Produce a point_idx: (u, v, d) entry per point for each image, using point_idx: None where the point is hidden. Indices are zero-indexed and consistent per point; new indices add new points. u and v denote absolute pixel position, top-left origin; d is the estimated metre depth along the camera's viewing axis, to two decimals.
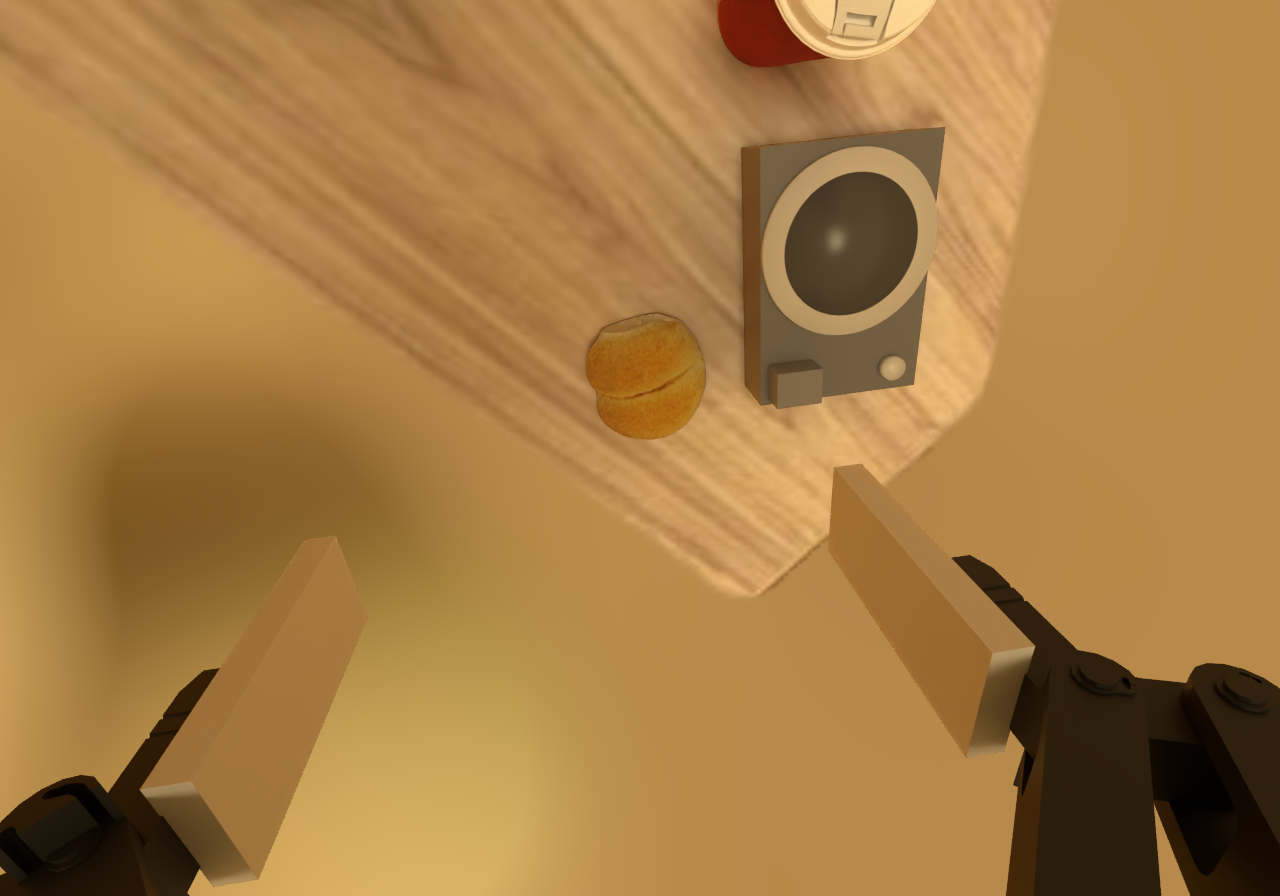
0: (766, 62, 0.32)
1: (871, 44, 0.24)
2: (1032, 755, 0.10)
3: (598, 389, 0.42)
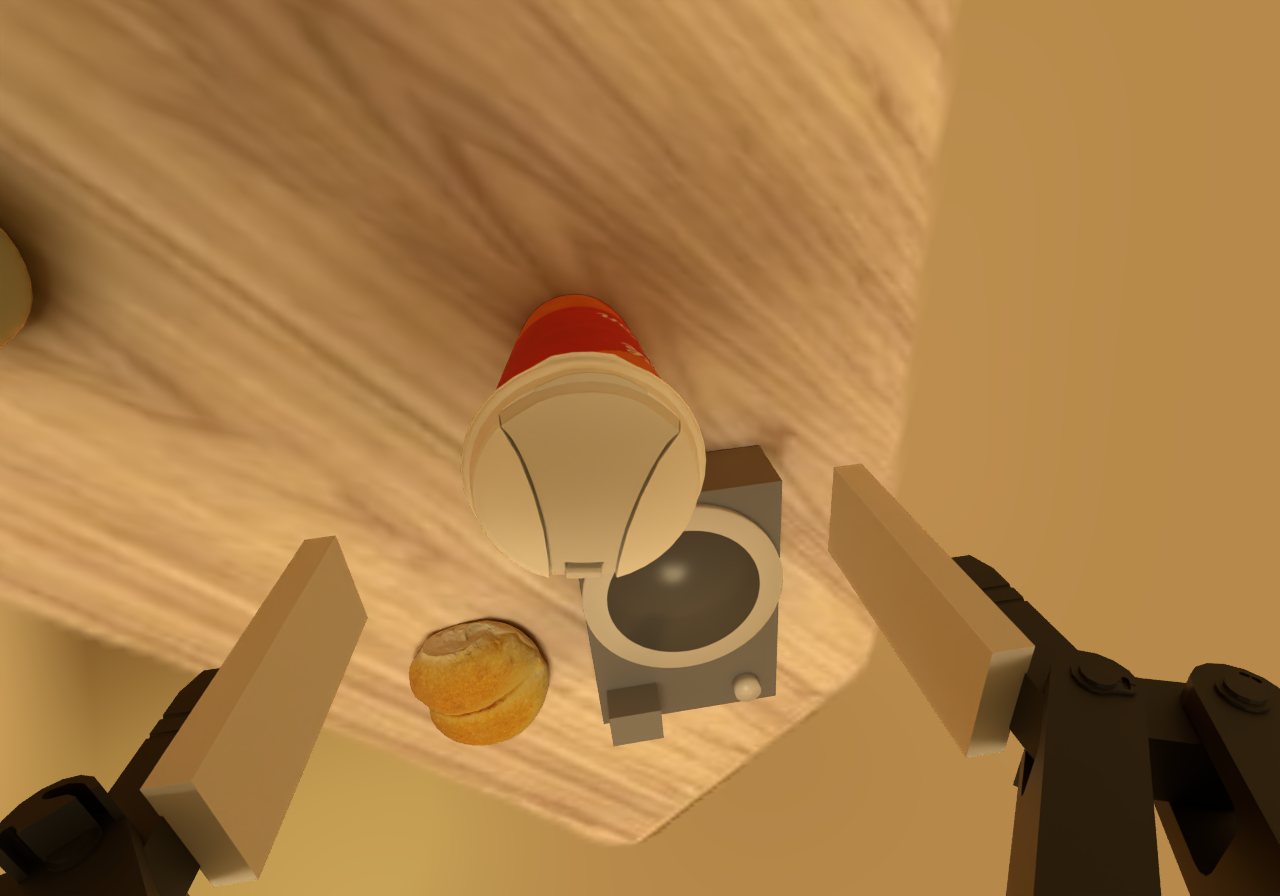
0: None
1: None
2: (1033, 755, 0.10)
3: None
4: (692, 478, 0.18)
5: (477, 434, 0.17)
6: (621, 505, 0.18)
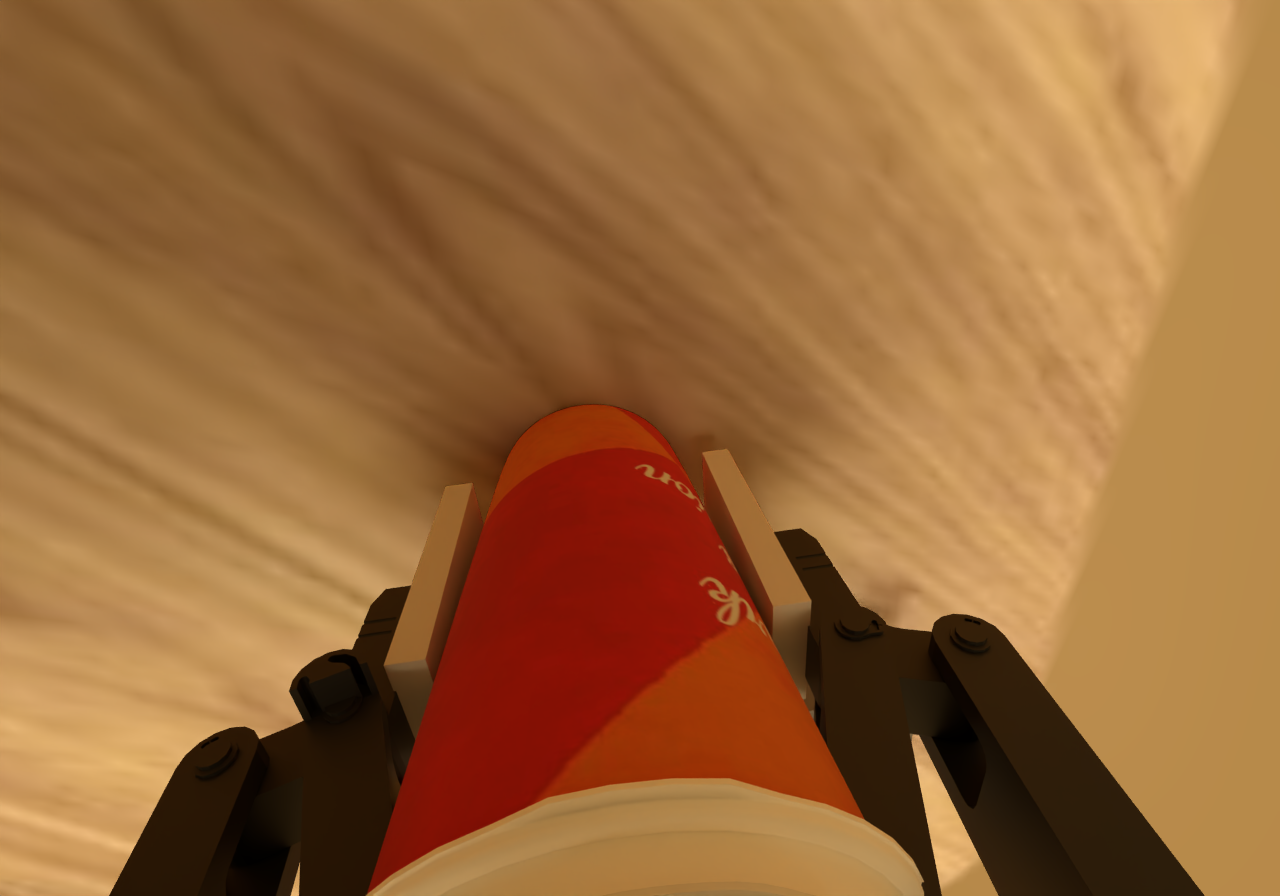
0: None
1: None
2: (821, 707, 0.12)
3: None
4: None
5: None
6: None
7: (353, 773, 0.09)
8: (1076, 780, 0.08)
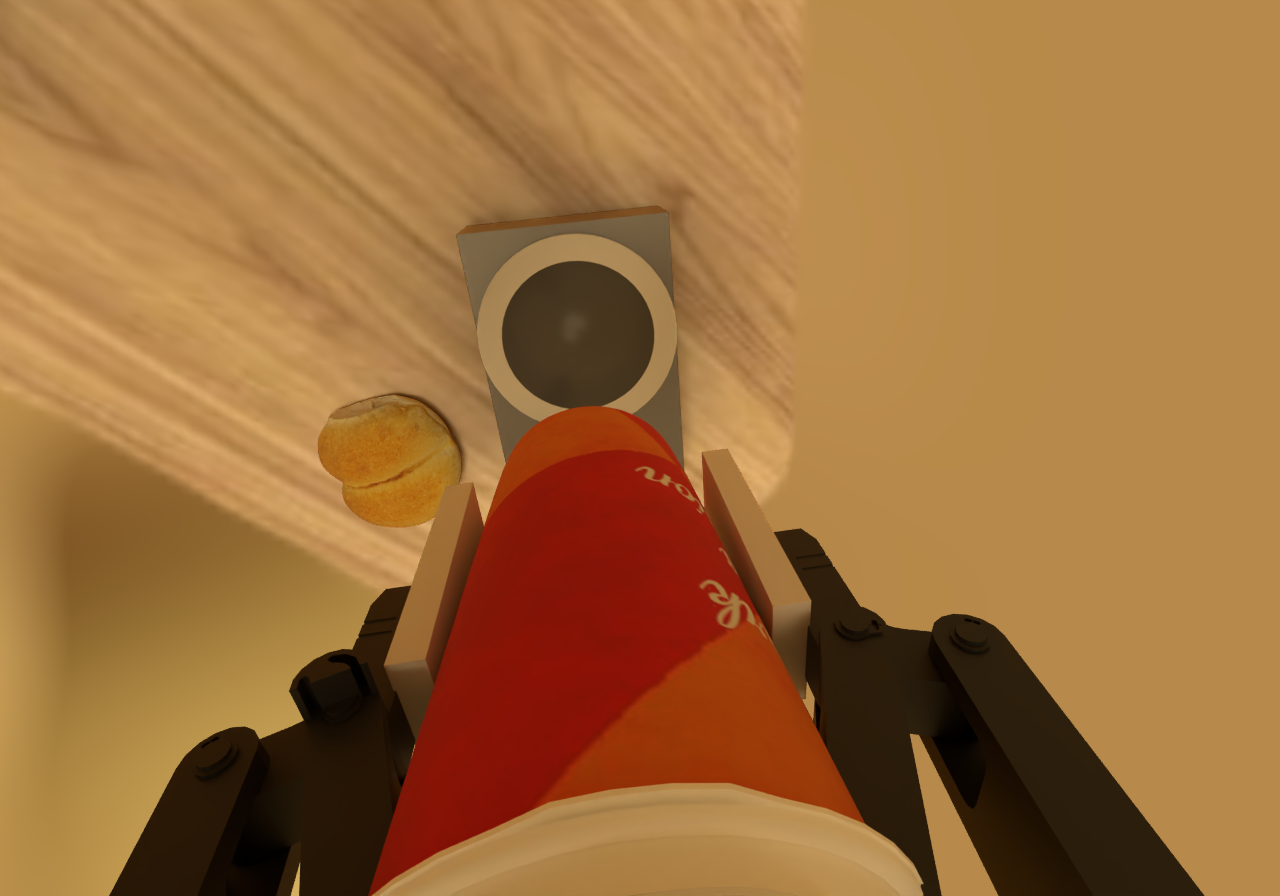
0: None
1: None
2: (821, 707, 0.12)
3: None
4: None
5: None
6: None
7: (354, 773, 0.09)
8: (1075, 781, 0.08)
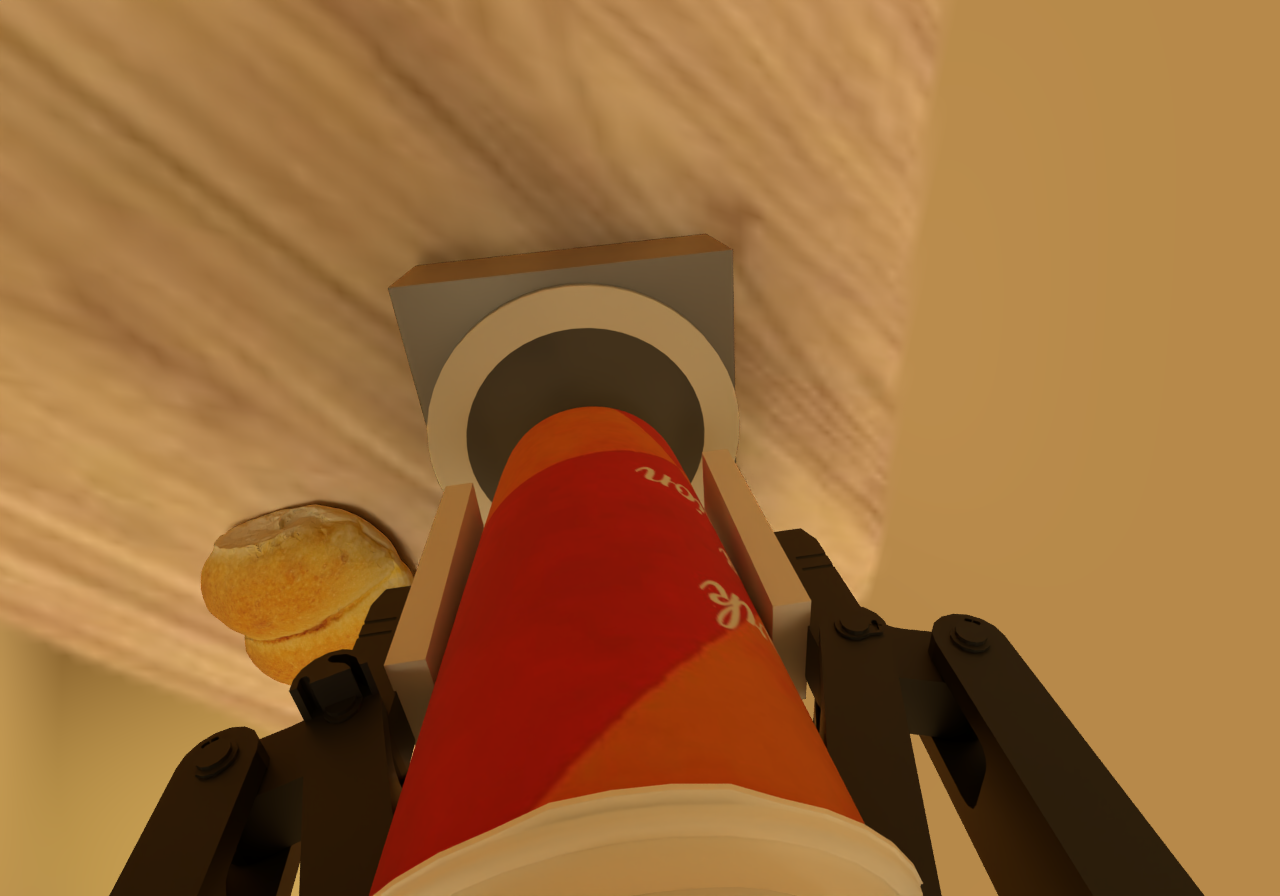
0: None
1: None
2: (820, 707, 0.12)
3: None
4: None
5: None
6: None
7: (354, 773, 0.09)
8: (1075, 780, 0.08)
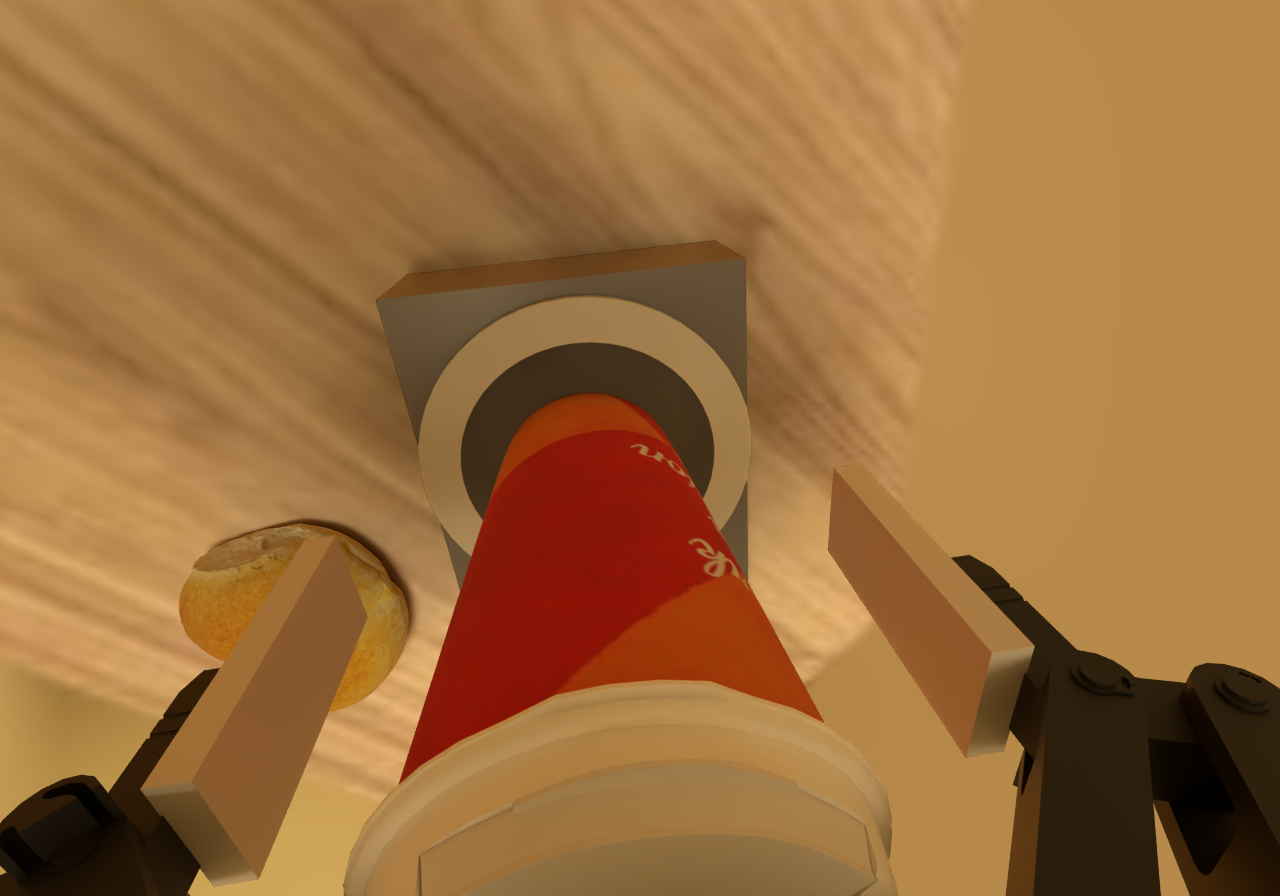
0: None
1: None
2: (1032, 755, 0.10)
3: None
4: None
5: (375, 862, 0.07)
6: None
7: None
8: None
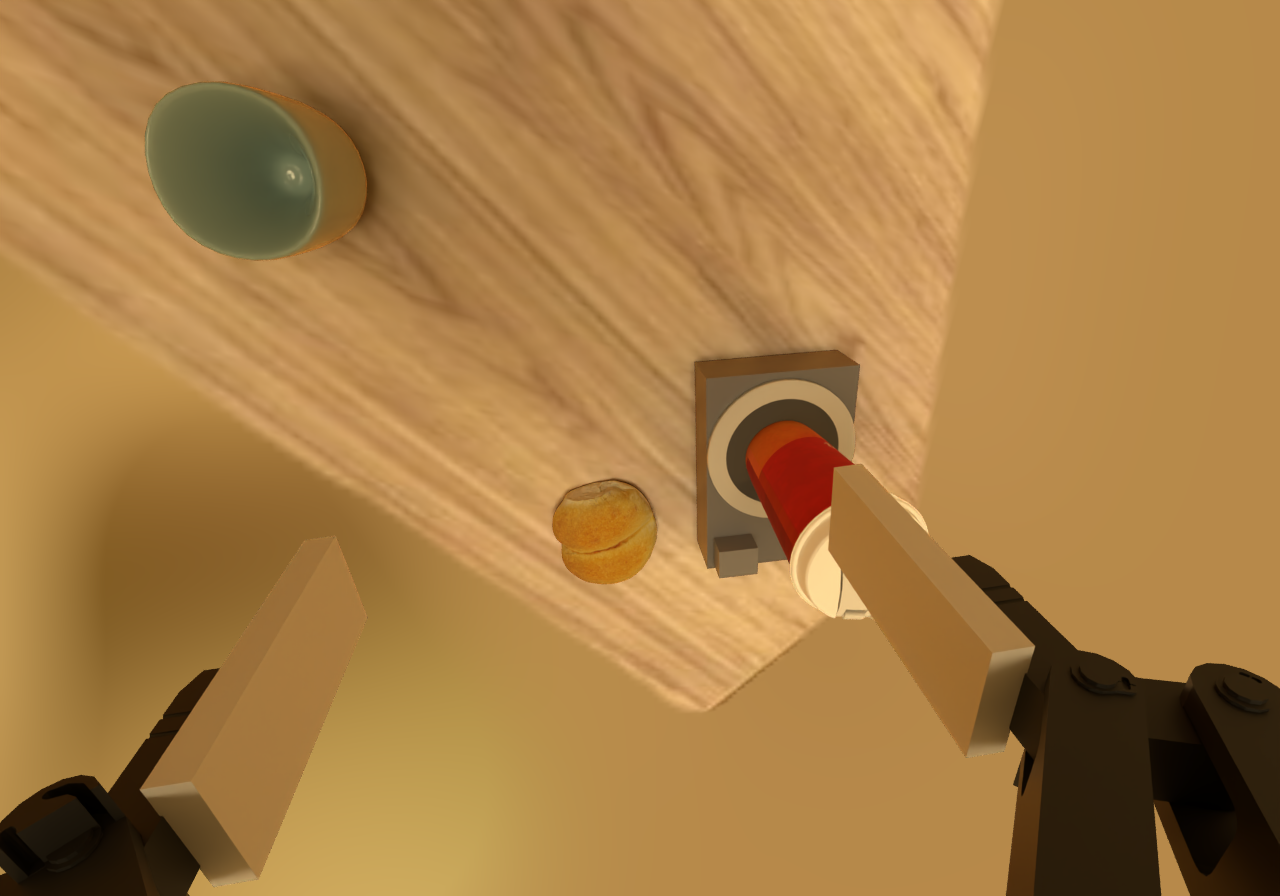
0: None
1: None
2: (1033, 755, 0.10)
3: (562, 543, 0.48)
4: None
5: (809, 534, 0.31)
6: None
7: None
8: None
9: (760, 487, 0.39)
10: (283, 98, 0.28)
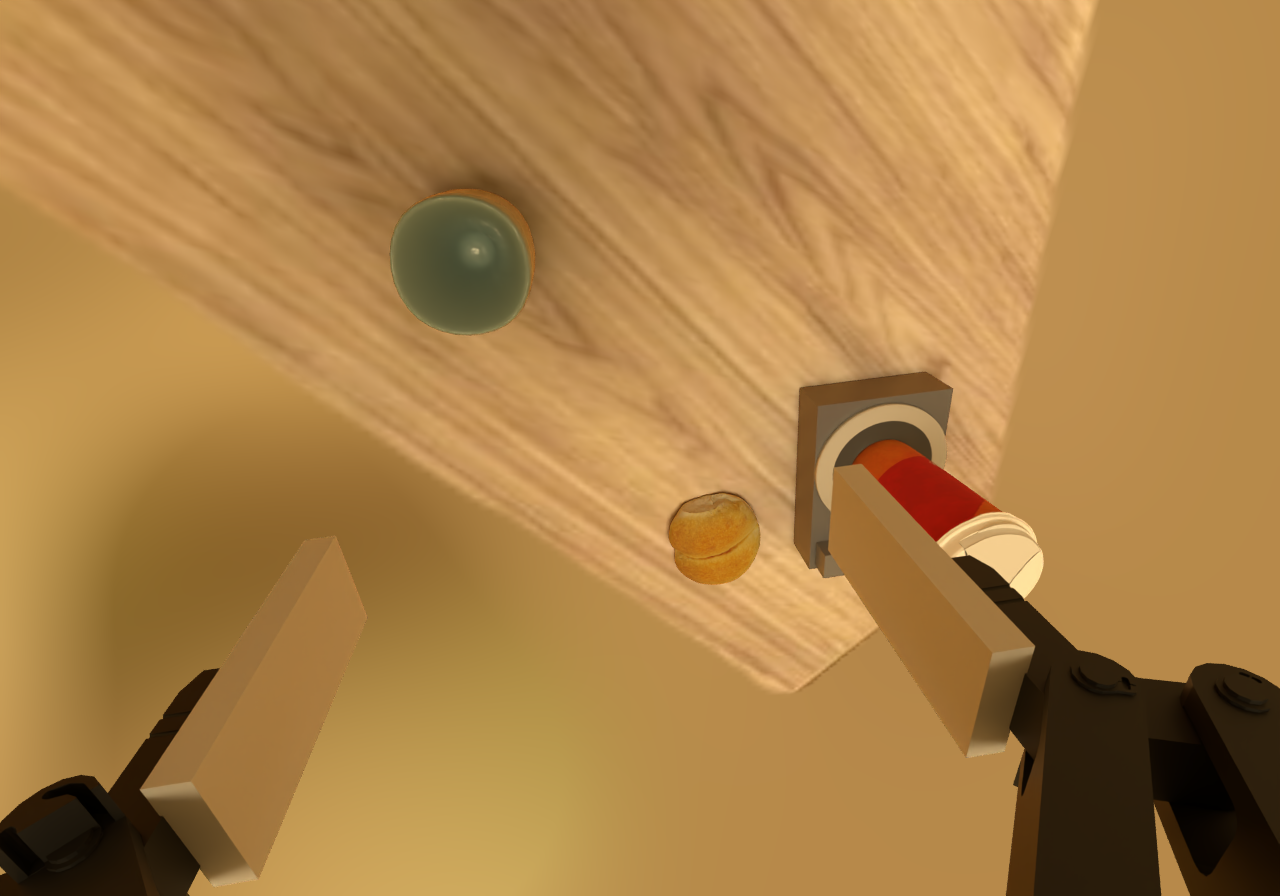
0: None
1: None
2: (1032, 755, 0.10)
3: (677, 550, 0.54)
4: (1039, 570, 0.37)
5: None
6: None
7: None
8: None
9: None
10: (493, 198, 0.34)
